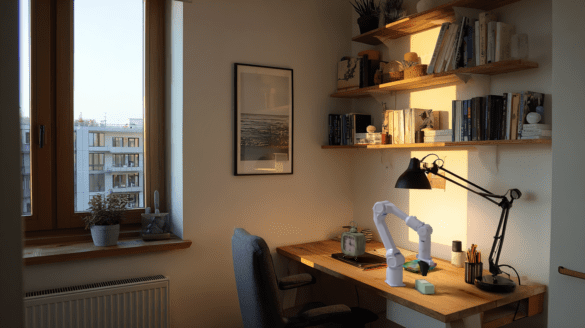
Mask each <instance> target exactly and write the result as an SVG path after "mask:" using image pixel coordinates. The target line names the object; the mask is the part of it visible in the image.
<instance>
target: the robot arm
mask: <svg viewBox="0 0 585 328" xmlns="http://www.w3.org/2000/svg"><path fill="white" fill-rule="evenodd" d="M372 212H373V218H372V219H373V222H374V225H375V227H376V229H377V232H378V235H379V237H380V239H381V241H382V243H383V246H384V249H385V251H386V253H385V257H386V264H387V267H386V270H385V272H386V273H385V280H384V282H385V283H386V284H387V285H389V286H390V287H391V288H392V287H393V288H394V287H406V284H405V283H403V282H404V281H403V277H404V276H403V274H404V272H403V271H404V267H403V264H404V263H405V262H406V258H405V255H404V254H402V252H401V250H400V249H399V248H398V247H397V246H396V244H395V241H394V239H393V237H392V234H391V231H390V229H389V227H388V224H387V223H386V220H385V219H386V217H387V215H388V214H392V215H394V216H395V217H397V218H399V219H401V220H403V221H404V222H405V225H406V226H407V227H409V228H410V229H412V230H413V231H415V232H417V235H418V253H416V254H415V258H416V259H419V260H420V261H417V263H418V264H419V267H420V270H421V272H420V273H421V277H427V276H428V273H429V271H430V270H429V268H430V266H431V265H434V263H435V262H434V259H433V258H434V257H432V255H431V254H432V253H431V251H432V234H433V231H434V230H433V227H432V226H431V225H430V224H429V223H425V221H421V220H420V219H418V218H417V216H416V215H414V216H413V215H408V214H407V213H406V212H404V211H403V210H402V209H400V208H399V207H398V206H396V205H395V203H392V202H390V200H383V201H376V202H375V203H374V205H373V207H372Z"/></svg>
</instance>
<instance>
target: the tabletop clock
mask: <svg viewBox="0 0 585 328" xmlns="http://www.w3.org/2000/svg"><path fill="white" fill-rule="evenodd" d="M351 223H355V224H356V226H355V225H353V224H352V225H351ZM349 226H350V227H351V228H350V229H349V231H343V232H341V236H340V250H341V253H343V254H344V256H350V257H355V256H356V259H357V260H358V256H361V255H364V254H365V252H366V247H367V244H366V241H367V240H366V235H365V234H364V233H362V232H359V231H358V230H357V229H358V228H357V227H358V223H357V222H356V221H355V220H351V221H350V222H349ZM356 259H355V260H356Z"/></svg>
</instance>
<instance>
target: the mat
mask: <svg viewBox="0 0 585 328" xmlns="http://www.w3.org/2000/svg"><path fill="white" fill-rule="evenodd" d="M412 289H413V290H415V291H417V292H418V293H419V294H421V295H425V294H424V293H422V292H421V291H420V290H418V289H417V288H415V286H413V287H412ZM433 295H436V292H435V291H434V294H433Z"/></svg>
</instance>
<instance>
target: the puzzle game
mask: <svg viewBox="0 0 585 328" xmlns="http://www.w3.org/2000/svg"><path fill="white" fill-rule="evenodd" d="M417 261H420V260H419V259H418V258H416V259H414V260H410V261H405V262H404V264H403V270H405V271H410V272H413V273H417V274H419V273H421V270H420V267H419V264H418V263H417ZM437 266H438V263H437V262H434V265H431V266H430V268H429V270H428V271H431V270H434V269H436V267H437Z"/></svg>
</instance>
